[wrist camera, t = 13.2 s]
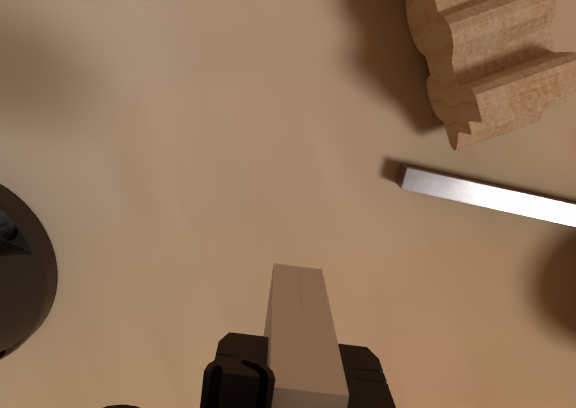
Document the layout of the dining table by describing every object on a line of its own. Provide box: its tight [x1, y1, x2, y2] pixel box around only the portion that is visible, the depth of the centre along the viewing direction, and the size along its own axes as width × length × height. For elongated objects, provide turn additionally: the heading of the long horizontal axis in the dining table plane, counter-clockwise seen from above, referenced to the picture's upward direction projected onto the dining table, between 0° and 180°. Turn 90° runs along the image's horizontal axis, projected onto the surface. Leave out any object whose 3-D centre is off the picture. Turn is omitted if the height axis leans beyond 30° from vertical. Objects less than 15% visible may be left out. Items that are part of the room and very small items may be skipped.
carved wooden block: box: [406, 0, 576, 150], centre depth 31 cm, size 6×17×10 cm, turn 20°
